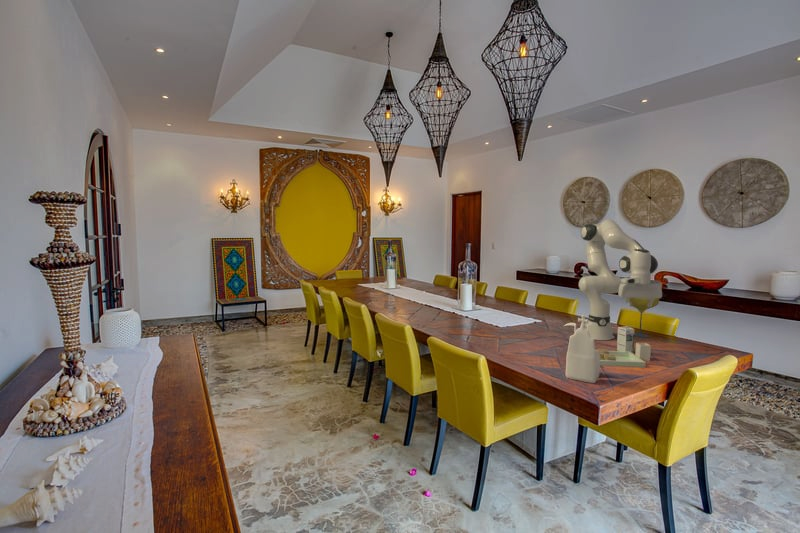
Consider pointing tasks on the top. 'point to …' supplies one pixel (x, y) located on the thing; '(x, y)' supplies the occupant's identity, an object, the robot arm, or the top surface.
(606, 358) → the maple block
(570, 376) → the cream tall nozzled container
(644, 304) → the cocktail glass
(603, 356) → the maple block
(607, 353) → the maple block
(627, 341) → the syrup box
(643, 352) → the cream hollow square tube
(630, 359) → the tray
